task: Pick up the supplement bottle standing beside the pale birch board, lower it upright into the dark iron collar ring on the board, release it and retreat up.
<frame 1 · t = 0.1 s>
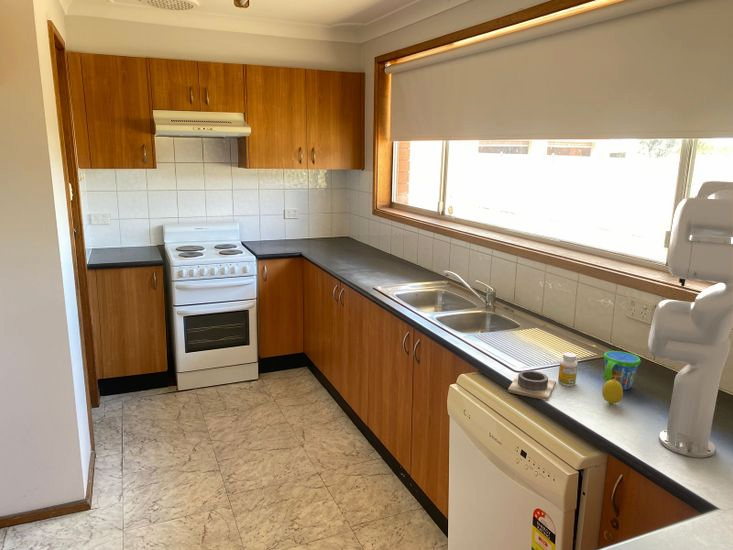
hand: (702, 287, 156), 37 cm above the worktop, tool pointing down, fingers open, 9 cm apart
collar board: (532, 387, 176), on the worktop
snack cup: (618, 386, 179), on the worktop
supplement bottle: (566, 383, 180), on the worktop
lemon: (610, 405, 165), on the worktop
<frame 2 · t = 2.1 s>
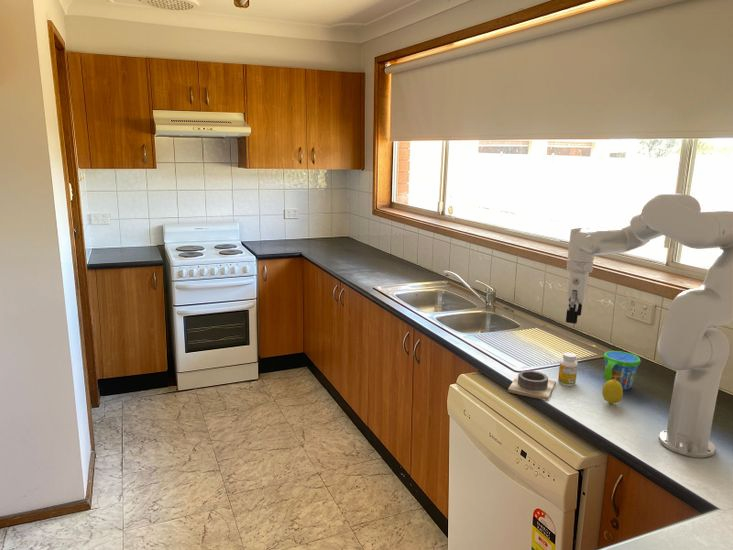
hand: (573, 318, 176), 22 cm above the worktop, tool pointing down, fingers open, 9 cm apart
nothing on the worktop moved.
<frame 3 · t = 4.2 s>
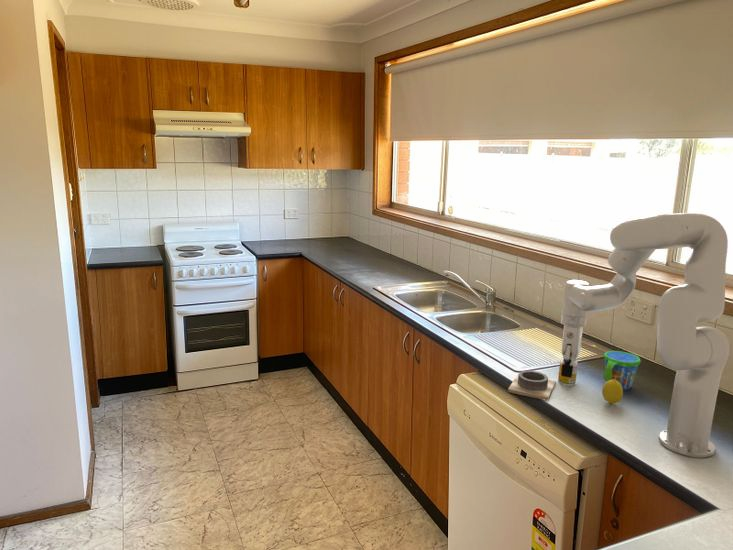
hand: (567, 372, 180), 4 cm above the worktop, tool pointing down, fingers closed on supplement bottle, 5 cm apart
supplement bottle: (566, 383, 180), on the worktop, touching gripper
everything else where it was.
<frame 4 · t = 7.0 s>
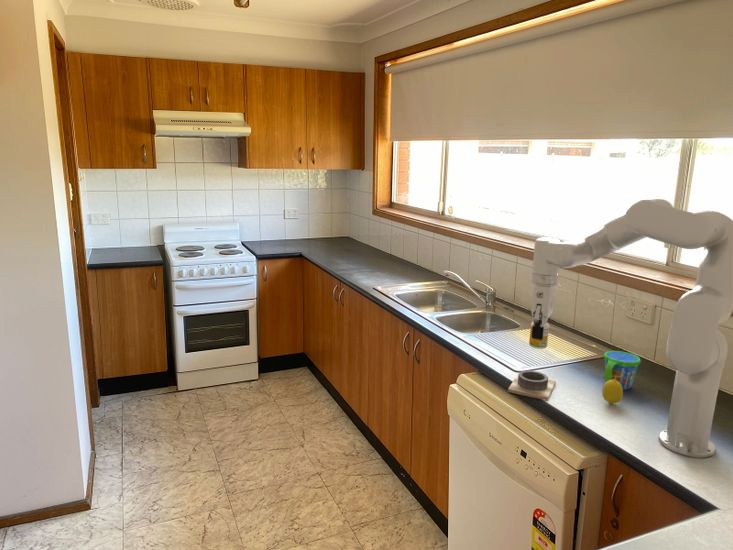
hand: (539, 335, 172), 17 cm above the worktop, tool pointing down, fingers closed on supplement bottle, 5 cm apart
supplement bottle: (537, 346, 173), point 14 cm above the worktop, touching gripper
everything else where it was.
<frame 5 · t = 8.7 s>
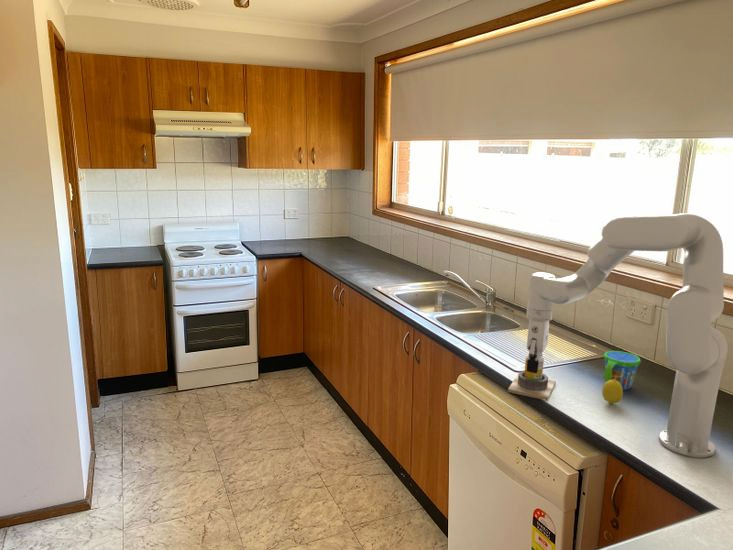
hand: (534, 368, 174), 7 cm above the worktop, tool pointing down, fingers closed on supplement bottle, 5 cm apart
supplement bottle: (532, 379, 175), point 3 cm above the worktop, touching gripper
everything else where it was.
when the fingers open (6 cm above the worktop, at t = 9.9 s): supplement bottle drops 1 cm, resting on collar board.
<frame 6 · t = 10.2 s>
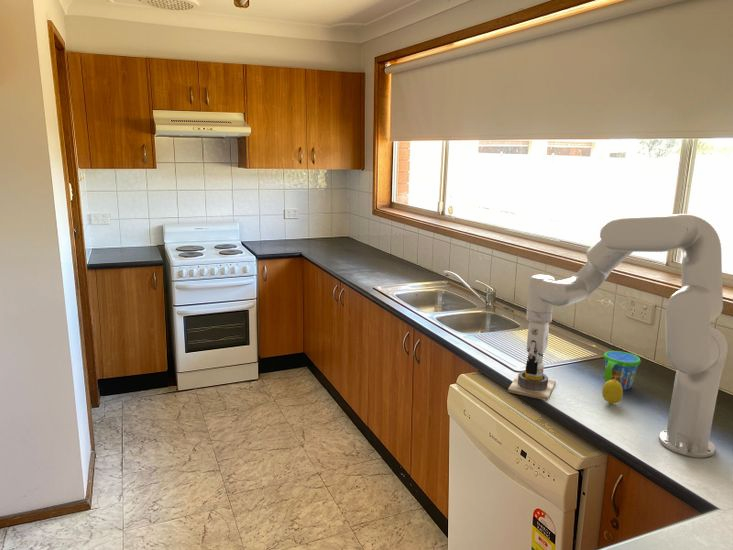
hand: (534, 368, 174), 6 cm above the worktop, tool pointing down, fingers open, 7 cm apart
supplement bottle: (532, 385, 175), point 1 cm above the worktop, touching collar board
everything else where it was.
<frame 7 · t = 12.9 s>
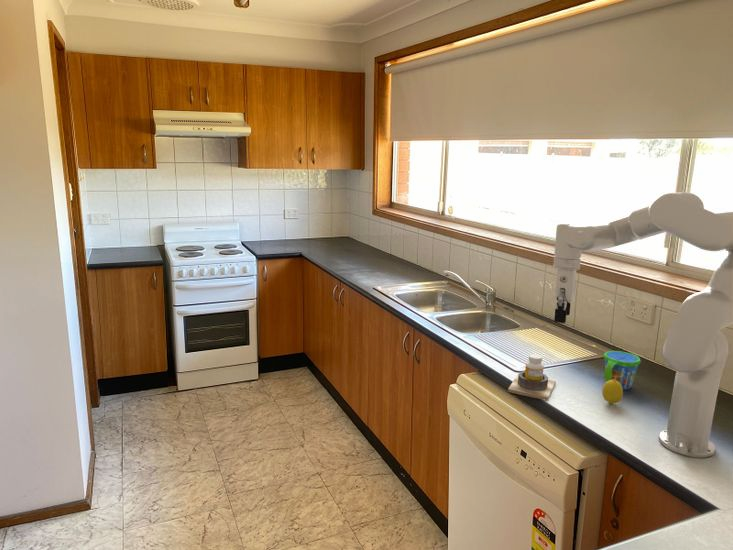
hand: (561, 318, 170), 23 cm above the worktop, tool pointing down, fingers open, 9 cm apart
nothing on the worktop moved.
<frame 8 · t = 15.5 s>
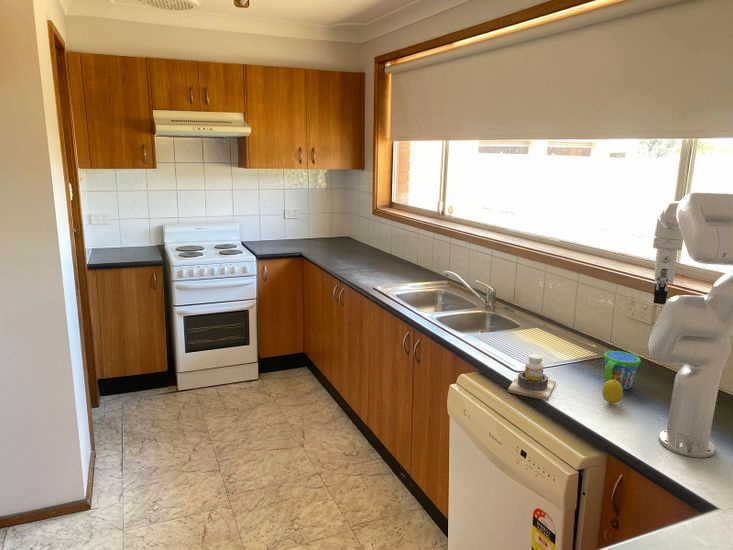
hand: (659, 300, 167), 30 cm above the worktop, tool pointing down, fingers open, 9 cm apart
nothing on the worktop moved.
at the end: supplement bottle 0.3 cm off-centre on the collar board, point 0.8 cm above the collar board's base; supplement bottle tilted 0°; the gripper is holding nothing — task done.
